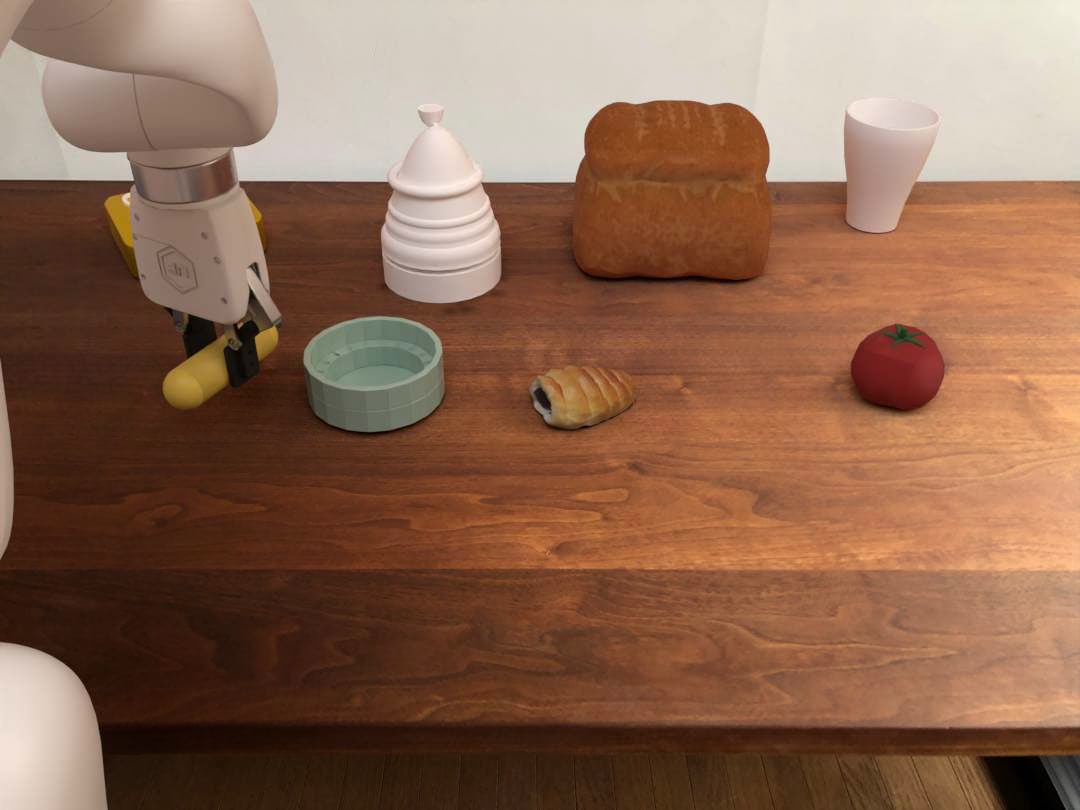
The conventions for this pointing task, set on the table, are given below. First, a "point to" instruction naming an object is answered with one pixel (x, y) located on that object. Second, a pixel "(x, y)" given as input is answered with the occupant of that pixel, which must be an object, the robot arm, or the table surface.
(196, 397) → the yellow gas cartridge
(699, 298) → the table surface
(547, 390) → the pastry
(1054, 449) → the table surface
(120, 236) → the element tile
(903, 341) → the tomato
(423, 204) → the honey pot
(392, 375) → the bowl
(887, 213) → the cup
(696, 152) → the bread
